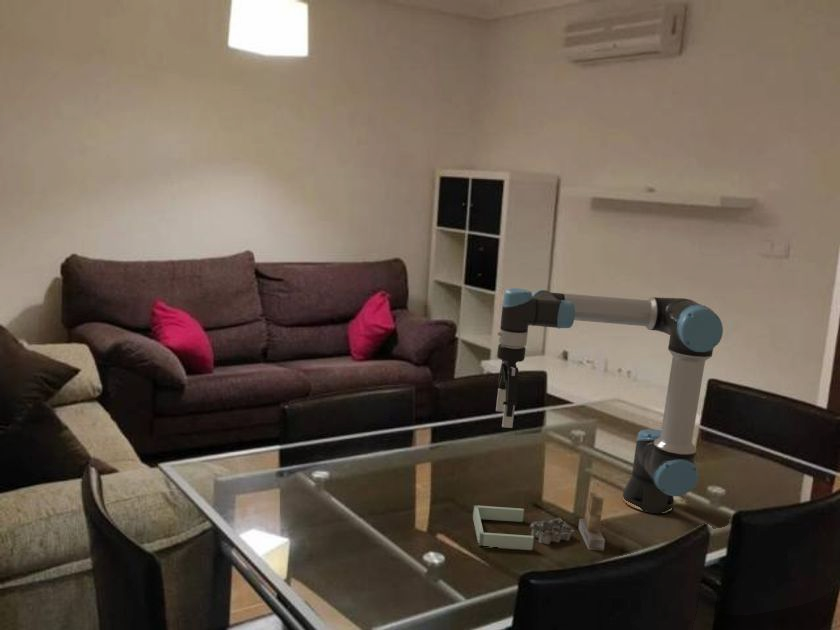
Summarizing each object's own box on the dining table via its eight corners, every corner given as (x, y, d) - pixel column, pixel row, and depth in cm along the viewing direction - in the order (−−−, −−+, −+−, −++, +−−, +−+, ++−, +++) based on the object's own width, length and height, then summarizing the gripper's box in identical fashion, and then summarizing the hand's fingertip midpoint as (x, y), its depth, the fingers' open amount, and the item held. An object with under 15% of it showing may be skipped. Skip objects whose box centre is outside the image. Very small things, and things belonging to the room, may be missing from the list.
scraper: (592, 529, 218) (598, 486, 215) (603, 550, 206) (610, 505, 203) (578, 528, 217) (584, 485, 215) (588, 549, 206) (595, 504, 203)
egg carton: (541, 546, 206) (543, 532, 205) (526, 533, 212) (528, 519, 211) (575, 541, 210) (576, 527, 209) (559, 528, 217) (560, 515, 216)
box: (522, 520, 219) (523, 508, 218) (532, 550, 203) (533, 537, 202) (472, 516, 219) (474, 505, 218) (478, 546, 202) (480, 534, 201)
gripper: (493, 334, 225) (485, 403, 230) (504, 355, 201) (495, 433, 205) (518, 336, 226) (510, 405, 230) (533, 357, 201) (524, 435, 205)
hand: (503, 418), depth 217 cm, fingers open, 13 cm apart
